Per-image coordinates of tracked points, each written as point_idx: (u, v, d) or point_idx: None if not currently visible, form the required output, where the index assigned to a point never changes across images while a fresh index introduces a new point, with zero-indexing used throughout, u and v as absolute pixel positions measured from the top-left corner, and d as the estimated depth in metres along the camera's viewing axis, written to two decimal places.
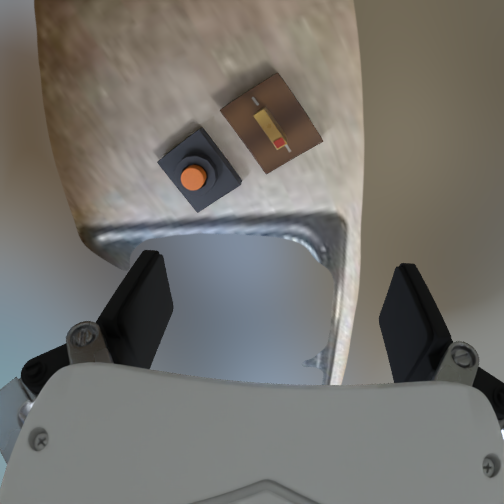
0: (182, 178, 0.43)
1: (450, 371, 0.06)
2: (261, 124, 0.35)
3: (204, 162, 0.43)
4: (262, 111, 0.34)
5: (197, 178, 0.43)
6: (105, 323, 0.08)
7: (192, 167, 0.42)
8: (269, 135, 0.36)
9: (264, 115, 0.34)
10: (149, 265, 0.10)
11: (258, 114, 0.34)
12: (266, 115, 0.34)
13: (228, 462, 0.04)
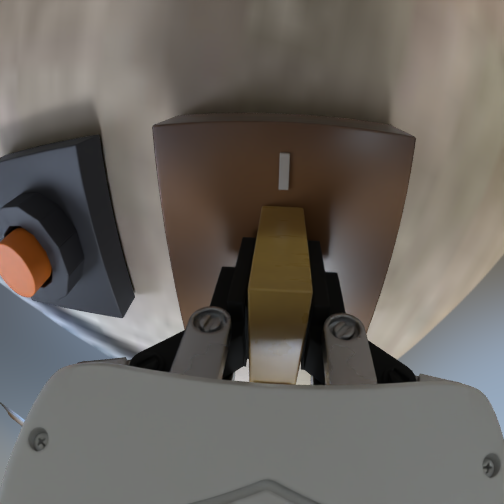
0: None
1: (340, 350, 0.07)
2: (256, 332, 0.08)
3: (51, 247, 0.12)
4: (300, 297, 0.07)
5: (23, 278, 0.12)
6: (232, 306, 0.09)
7: (18, 247, 0.12)
8: (255, 367, 0.09)
9: (294, 313, 0.08)
10: None
11: (274, 297, 0.07)
12: (302, 317, 0.08)
13: (228, 462, 0.04)
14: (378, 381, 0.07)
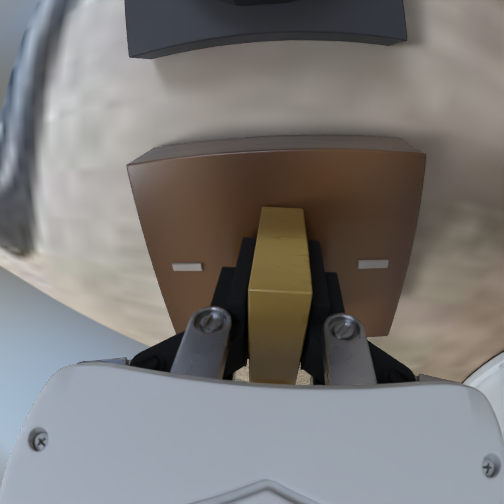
0: None
1: (339, 350, 0.07)
2: (256, 332, 0.08)
3: None
4: (300, 298, 0.07)
5: None
6: (232, 307, 0.09)
7: None
8: (255, 368, 0.09)
9: (294, 314, 0.08)
10: None
11: (274, 298, 0.07)
12: (301, 318, 0.08)
13: (228, 462, 0.04)
14: (377, 381, 0.07)
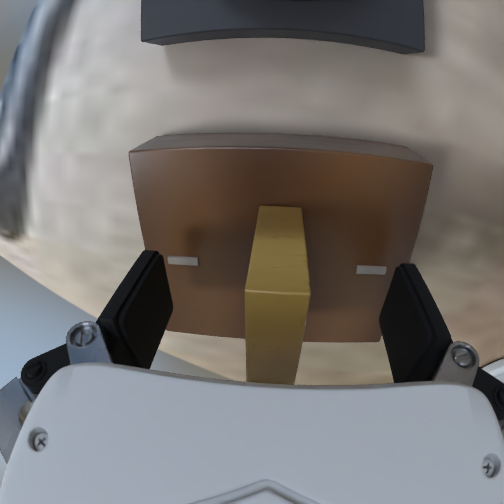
0: None
1: (450, 371, 0.06)
2: (253, 334, 0.08)
3: None
4: (298, 299, 0.07)
5: None
6: (105, 323, 0.08)
7: None
8: (252, 369, 0.09)
9: (292, 316, 0.07)
10: (149, 265, 0.10)
11: (271, 300, 0.07)
12: (299, 320, 0.07)
13: (228, 462, 0.04)
14: (491, 402, 0.05)
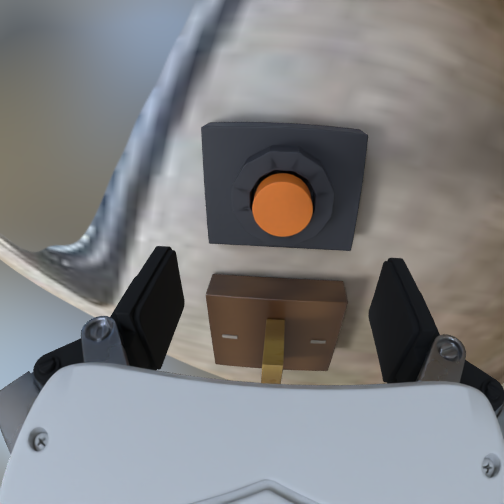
0: (300, 193, 0.17)
1: (437, 365, 0.06)
2: (264, 375, 0.22)
3: (293, 239, 0.20)
4: (279, 367, 0.21)
5: (275, 222, 0.18)
6: (121, 318, 0.08)
7: None
8: None
9: (277, 371, 0.22)
10: (163, 261, 0.10)
11: (270, 367, 0.21)
12: (280, 372, 0.22)
13: (228, 462, 0.04)
14: None
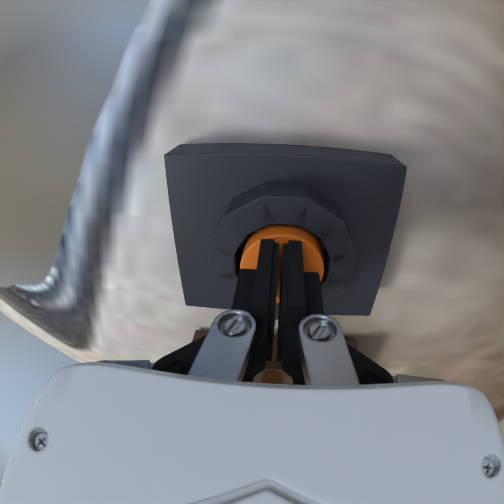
0: (307, 250, 0.12)
1: (317, 352, 0.07)
2: None
3: None
4: None
5: None
6: (256, 310, 0.09)
7: None
8: None
9: None
10: (274, 253, 0.11)
11: None
12: None
13: (228, 462, 0.04)
14: None
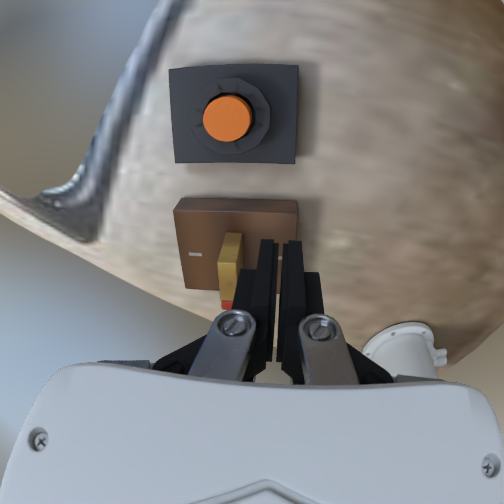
0: (238, 104, 0.20)
1: (317, 352, 0.07)
2: (220, 277, 0.26)
3: (240, 148, 0.23)
4: (232, 265, 0.25)
5: (221, 129, 0.21)
6: (256, 310, 0.09)
7: None
8: (221, 292, 0.27)
9: (231, 270, 0.25)
10: (274, 253, 0.11)
11: (225, 265, 0.25)
12: (234, 271, 0.25)
13: (228, 462, 0.04)
14: None
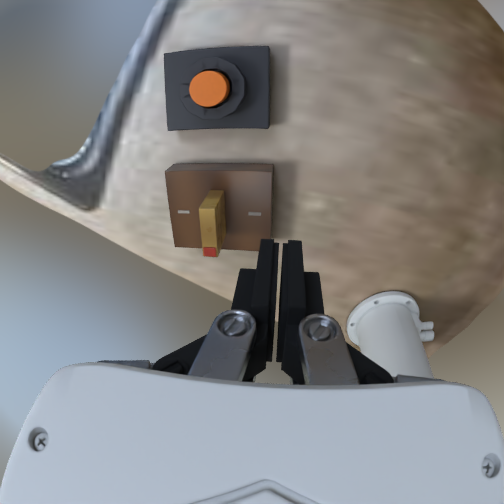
0: (217, 76, 0.23)
1: (317, 352, 0.07)
2: (202, 223, 0.29)
3: (220, 113, 0.27)
4: (211, 210, 0.28)
5: (204, 96, 0.25)
6: (256, 310, 0.09)
7: (223, 98, 0.25)
8: (203, 238, 0.30)
9: (211, 216, 0.28)
10: (274, 253, 0.11)
11: (205, 211, 0.28)
12: (213, 217, 0.28)
13: (228, 462, 0.04)
14: None
